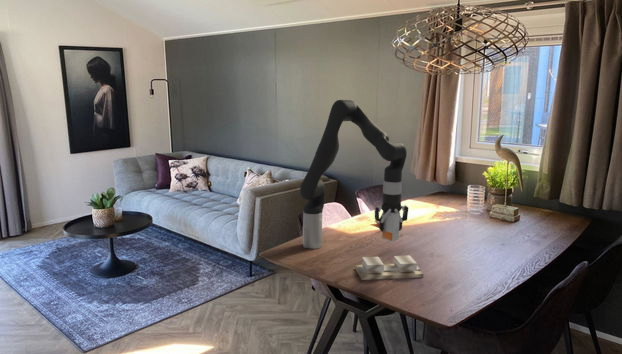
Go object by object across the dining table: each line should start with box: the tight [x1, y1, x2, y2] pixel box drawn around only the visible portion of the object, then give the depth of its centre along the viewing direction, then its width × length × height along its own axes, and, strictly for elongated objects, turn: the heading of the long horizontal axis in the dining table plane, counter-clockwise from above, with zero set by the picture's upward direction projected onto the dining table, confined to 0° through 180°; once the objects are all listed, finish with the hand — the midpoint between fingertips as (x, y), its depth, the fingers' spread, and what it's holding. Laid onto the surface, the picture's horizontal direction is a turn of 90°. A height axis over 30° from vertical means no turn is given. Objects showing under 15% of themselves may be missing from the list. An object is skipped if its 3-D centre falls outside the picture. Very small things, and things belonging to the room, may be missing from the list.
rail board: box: [355, 255, 424, 281], centre depth 197 cm, size 26×12×6 cm, turn 97°
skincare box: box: [381, 211, 401, 243], centre depth 194 cm, size 6×4×12 cm
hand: (390, 230), depth 194 cm, fingers closed on skincare box, 6 cm apart
